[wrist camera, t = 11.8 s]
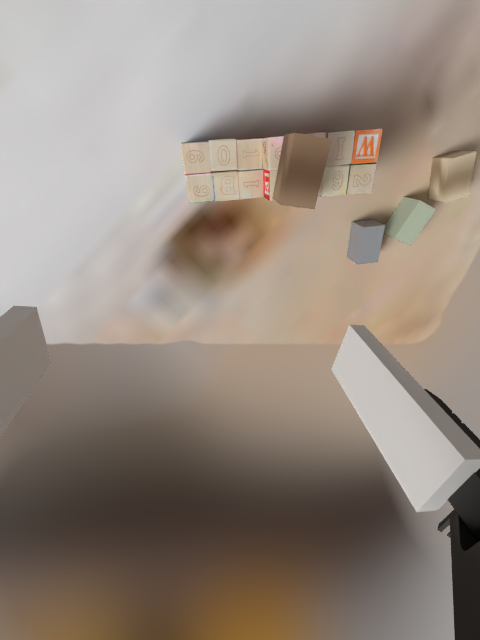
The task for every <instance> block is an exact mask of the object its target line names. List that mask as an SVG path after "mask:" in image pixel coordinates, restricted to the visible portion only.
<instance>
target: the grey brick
mask: <svg viewBox="0 0 480 640" xmlns="http://www.w3.org/2000/svg"><path fill="white" fill-rule="evenodd" d="M384 229H385V225H384V224H382V223H379V222H377V221H374V220H363V221H354V222H352V223H351V230H350V238H349V245H348V252H347V257H348V258H349V259H351V260H352V261H353V262H355V263H356V264H366V263H374V262H378V258H379V253H380V248H381V243H382V238H383V233H384Z"/></svg>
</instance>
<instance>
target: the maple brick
mask: <svg viewBox="0 0 480 640" xmlns="http://www.w3.org/2000/svg"><path fill="white" fill-rule="evenodd" d="M476 154H477V151H454V152H450V153H447V154H444V155H440V156H437V157H434V158H433V159H432V168H431V177H430V186H429V195H428V199H431V200H436V201H441V202H445V203H447V202H450V201H453V200H457V199H460V198H463V197H467V196H469V192H470V186H471V181H472V175H473V170H474V164H475V159H476Z"/></svg>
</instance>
